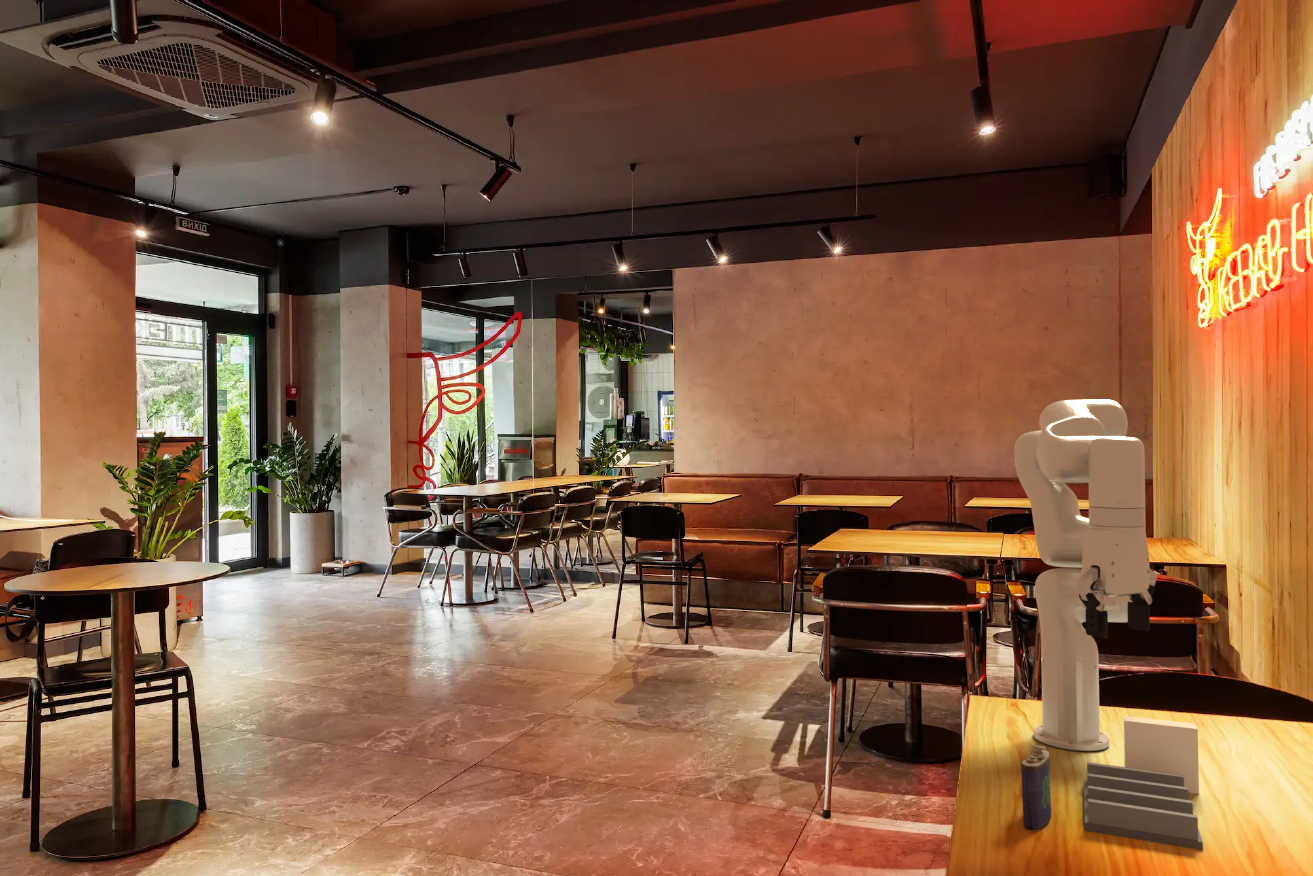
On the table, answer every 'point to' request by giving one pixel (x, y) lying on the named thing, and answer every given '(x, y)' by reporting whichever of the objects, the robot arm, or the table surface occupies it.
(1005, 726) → the table surface
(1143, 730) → the beige square block
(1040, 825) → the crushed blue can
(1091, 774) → the rack
